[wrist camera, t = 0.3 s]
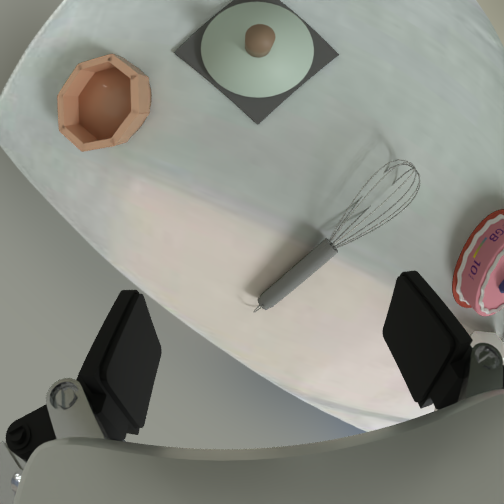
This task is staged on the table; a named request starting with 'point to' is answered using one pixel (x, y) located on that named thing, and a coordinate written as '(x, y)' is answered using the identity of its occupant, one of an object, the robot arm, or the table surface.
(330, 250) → the kitchen whisk
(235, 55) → the lid
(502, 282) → the cake
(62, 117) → the bowl
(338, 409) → the table surface
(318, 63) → the mat
